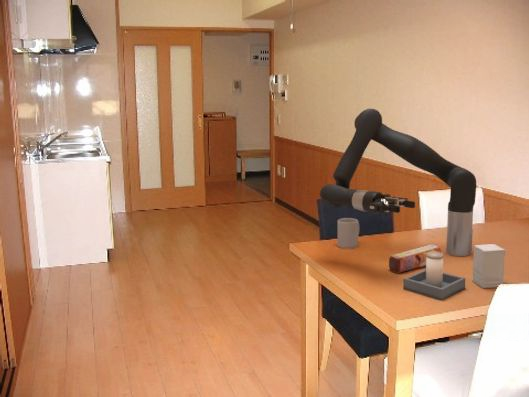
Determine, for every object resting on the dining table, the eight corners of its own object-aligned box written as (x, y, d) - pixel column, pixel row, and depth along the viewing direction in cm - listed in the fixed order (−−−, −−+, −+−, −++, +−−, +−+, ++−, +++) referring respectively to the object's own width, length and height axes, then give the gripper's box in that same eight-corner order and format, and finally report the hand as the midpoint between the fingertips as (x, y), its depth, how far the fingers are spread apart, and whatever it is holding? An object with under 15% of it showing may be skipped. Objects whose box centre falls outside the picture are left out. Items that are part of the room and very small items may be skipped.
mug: (350, 250, 222) (350, 223, 220) (333, 246, 228) (333, 220, 226) (366, 243, 231) (367, 218, 229) (350, 240, 237) (350, 215, 234)
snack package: (399, 275, 192) (400, 256, 191) (386, 270, 198) (387, 252, 197) (442, 264, 203) (442, 246, 201) (428, 259, 208) (429, 242, 207)
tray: (427, 278, 188) (427, 268, 187) (465, 288, 178) (465, 278, 177) (403, 288, 179) (403, 278, 178) (441, 300, 169) (442, 289, 168)
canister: (431, 282, 182) (432, 250, 179) (445, 286, 178) (446, 253, 176) (422, 286, 178) (423, 254, 176) (436, 290, 175) (437, 257, 172)
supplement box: (503, 287, 178) (506, 249, 175) (481, 288, 177) (483, 251, 175) (492, 279, 185) (494, 243, 182) (471, 280, 184) (473, 244, 182)
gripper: (354, 194, 188) (394, 199, 176) (380, 187, 197) (419, 192, 185) (355, 215, 189) (394, 222, 177) (380, 208, 199) (419, 214, 186)
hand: (407, 207), depth 181 cm, fingers open, 8 cm apart
